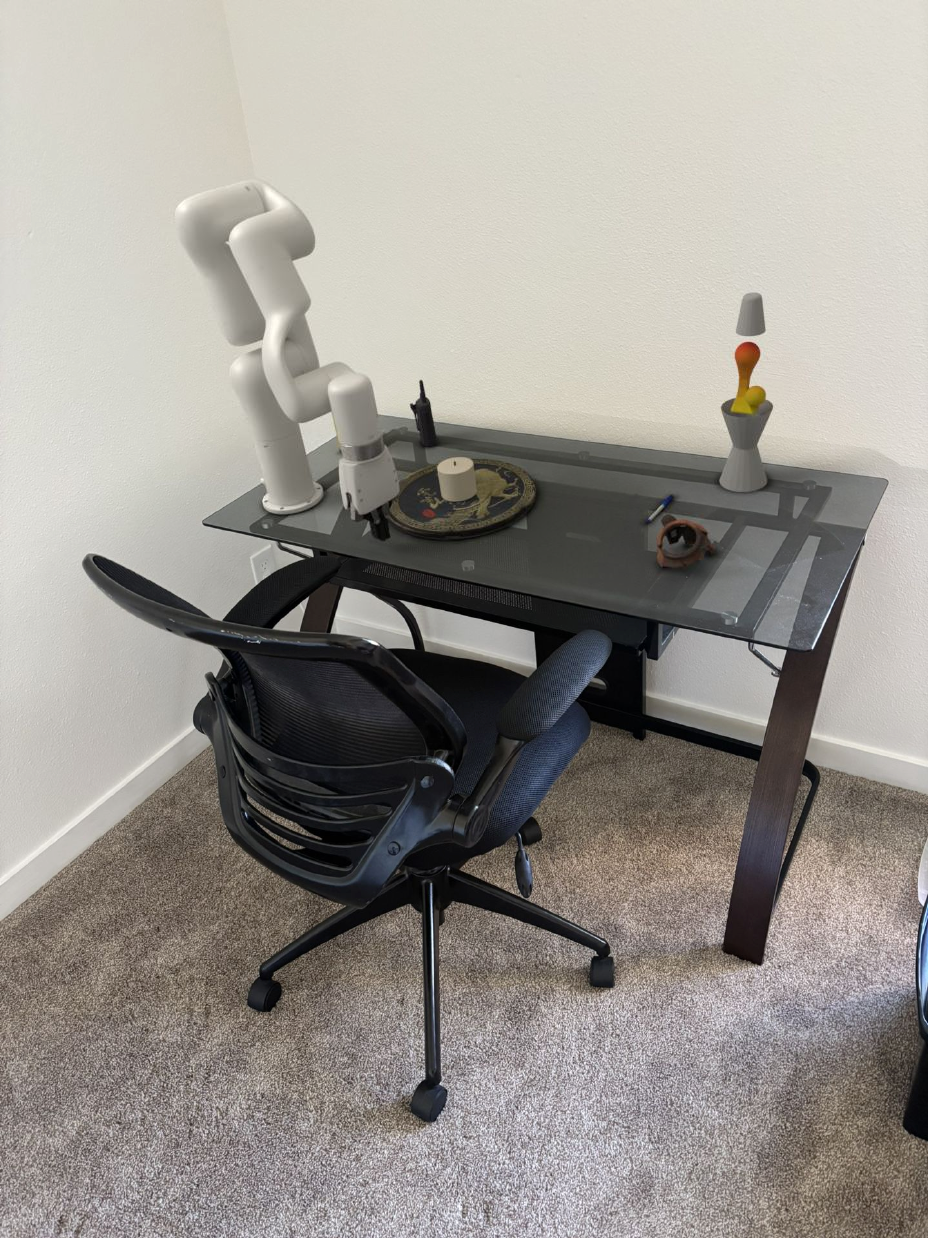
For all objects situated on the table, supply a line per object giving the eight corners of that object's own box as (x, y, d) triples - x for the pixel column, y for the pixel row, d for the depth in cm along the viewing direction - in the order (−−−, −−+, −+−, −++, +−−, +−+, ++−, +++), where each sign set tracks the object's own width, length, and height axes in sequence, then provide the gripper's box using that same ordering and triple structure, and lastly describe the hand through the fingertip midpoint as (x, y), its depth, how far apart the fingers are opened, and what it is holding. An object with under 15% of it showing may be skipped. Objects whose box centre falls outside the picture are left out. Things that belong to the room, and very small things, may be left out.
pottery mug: (728, 561, 157) (718, 537, 151) (682, 595, 158) (669, 573, 152) (688, 517, 165) (676, 492, 158) (643, 550, 166) (630, 526, 159)
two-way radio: (438, 446, 207) (428, 381, 198) (418, 450, 206) (407, 385, 198) (434, 436, 211) (424, 372, 202) (415, 440, 211) (404, 376, 202)
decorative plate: (413, 549, 169) (364, 483, 192) (414, 558, 170) (366, 491, 193) (562, 503, 176) (498, 444, 199) (563, 511, 177) (499, 452, 201)
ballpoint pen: (669, 497, 176) (669, 492, 176) (674, 497, 176) (674, 493, 175) (645, 524, 170) (645, 519, 169) (650, 525, 169) (649, 520, 169)
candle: (434, 495, 185) (429, 464, 181) (458, 480, 188) (454, 450, 184) (459, 505, 180) (454, 473, 176) (484, 489, 184) (480, 458, 180)
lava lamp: (711, 487, 177) (716, 301, 157) (728, 466, 183) (735, 284, 162) (758, 495, 172) (770, 305, 152) (775, 473, 178) (788, 287, 158)
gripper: (380, 425, 168) (397, 514, 179) (315, 459, 161) (338, 550, 171) (408, 434, 164) (424, 525, 174) (343, 469, 156) (364, 562, 166)
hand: (381, 537), depth 173 cm, fingers closed
